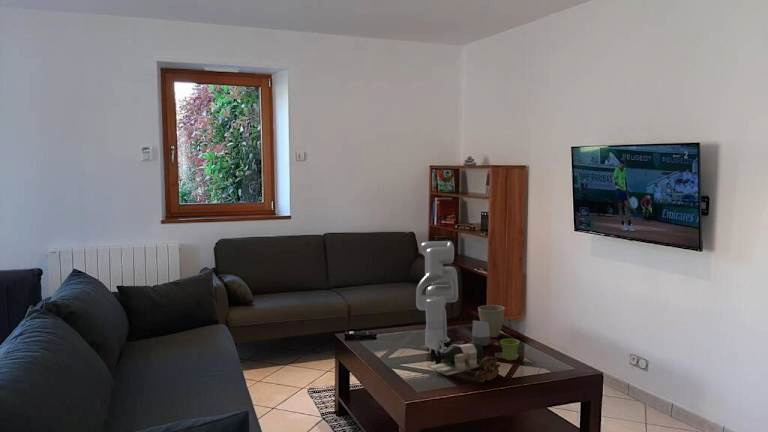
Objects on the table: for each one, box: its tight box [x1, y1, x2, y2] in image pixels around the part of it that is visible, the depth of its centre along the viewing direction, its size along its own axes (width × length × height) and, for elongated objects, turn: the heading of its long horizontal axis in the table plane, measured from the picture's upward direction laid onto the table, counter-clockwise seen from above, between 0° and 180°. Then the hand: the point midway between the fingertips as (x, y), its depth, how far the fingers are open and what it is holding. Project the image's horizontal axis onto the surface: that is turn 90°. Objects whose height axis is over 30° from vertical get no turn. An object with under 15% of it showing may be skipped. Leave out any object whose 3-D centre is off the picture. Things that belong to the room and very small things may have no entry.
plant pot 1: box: [477, 304, 505, 338], centre depth 328 cm, size 15×15×16 cm
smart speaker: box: [471, 320, 491, 348], centre depth 311 cm, size 10×9×14 cm
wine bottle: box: [427, 342, 484, 364], centre depth 281 cm, size 8×8×30 cm
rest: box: [426, 343, 480, 376], centre depth 280 cm, size 16×20×8 cm
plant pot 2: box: [499, 338, 520, 361], centre depth 287 cm, size 9×9×9 cm
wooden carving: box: [474, 356, 501, 383], centre depth 260 cm, size 16×5×10 cm, turn 139°
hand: (436, 362), depth 275 cm, fingers closed on wine bottle, 3 cm apart
